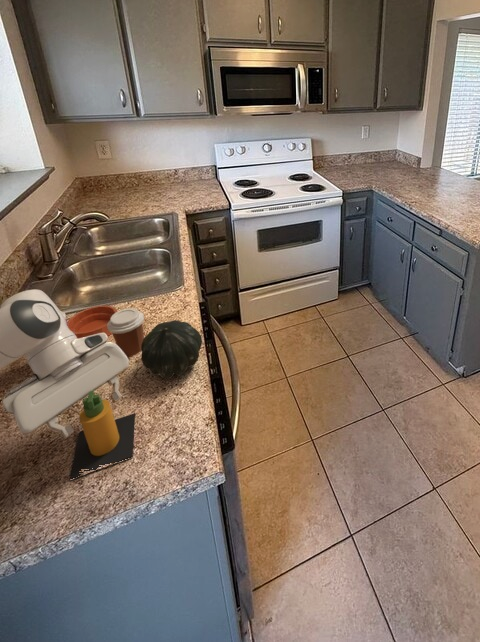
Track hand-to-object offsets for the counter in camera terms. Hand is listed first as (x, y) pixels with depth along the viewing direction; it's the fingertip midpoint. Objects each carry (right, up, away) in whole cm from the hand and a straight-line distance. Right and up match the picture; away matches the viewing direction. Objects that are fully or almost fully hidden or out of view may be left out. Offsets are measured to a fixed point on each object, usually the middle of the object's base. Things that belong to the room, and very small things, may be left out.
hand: (95, 417), depth 73 cm
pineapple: (0, -7, +3) cm, 8 cm away
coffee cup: (-8, +2, +29) cm, 31 cm away
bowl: (-24, +5, +37) cm, 44 cm away
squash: (+6, 0, +24) cm, 25 cm away
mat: (0, -8, +3) cm, 8 cm away
